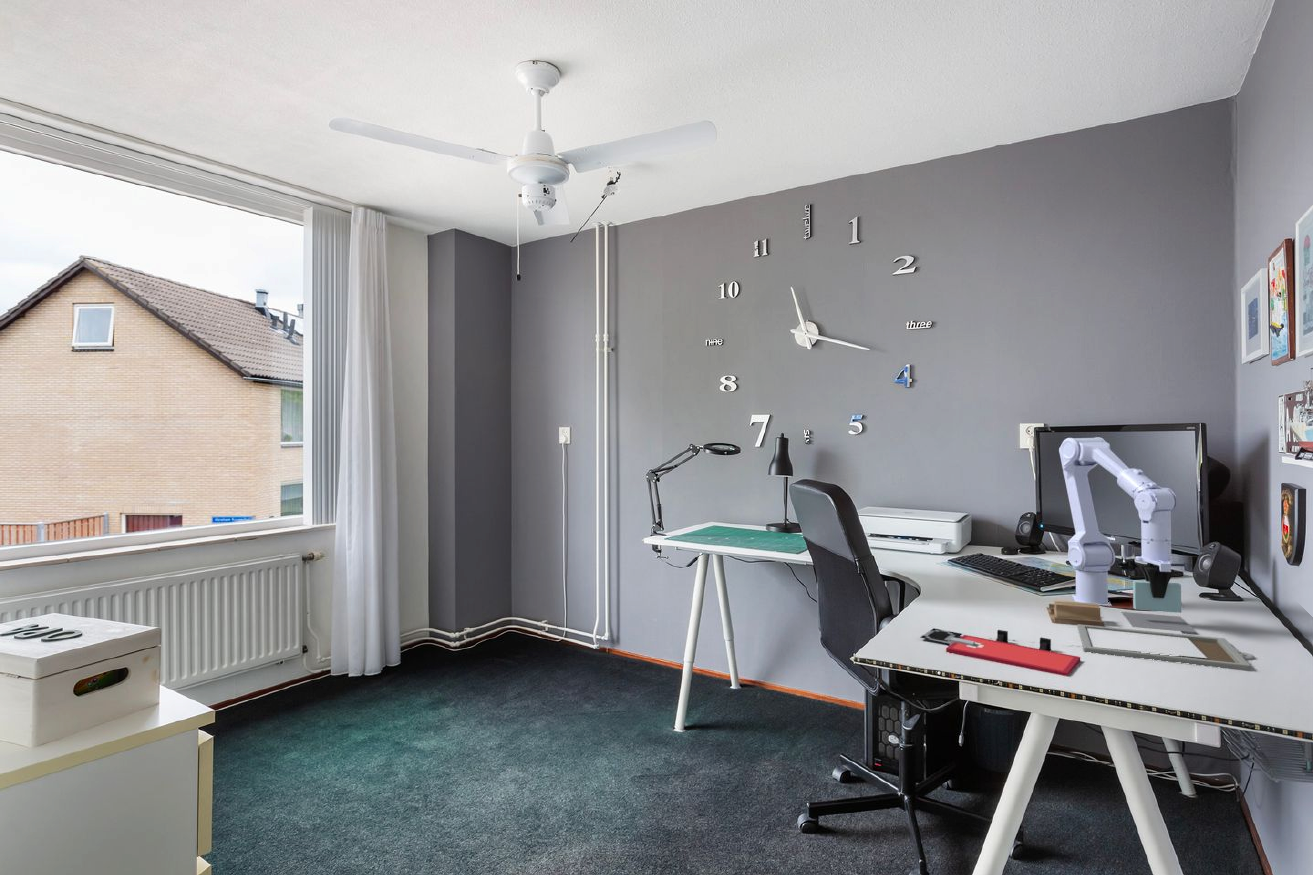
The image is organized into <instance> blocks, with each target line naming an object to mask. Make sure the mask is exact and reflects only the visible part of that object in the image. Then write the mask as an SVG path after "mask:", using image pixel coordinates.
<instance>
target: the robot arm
mask: <svg viewBox="0 0 1313 875" xmlns="http://www.w3.org/2000/svg"><path fill="white" fill-rule="evenodd" d="M1058 452H1059V457H1060V462H1061V468H1062V472H1063V477H1064V481H1065V487H1066V492H1067V497H1068V501H1069V506H1070V512H1071V518H1072V522H1073V526H1074V533H1075V534H1074V535H1073V536H1072V537H1071V538H1070V539H1069V540H1068V541H1067V545H1068V552H1067V559H1068V561H1069V564H1070V565H1071V566H1072V569H1075V594H1072V595H1071V596H1072V598H1073V599H1074V602H1082V603H1095V604H1098V605H1099V606H1106V607H1112V604H1111V601H1109V599H1108V598H1109V592H1108V591H1109V589H1108V588H1109V585H1108V584H1109V583H1108V581H1109V580H1108V579H1109V578H1108V577H1109V576H1108V575H1109V574H1108V571H1111V567H1112V566H1113V565H1114V564H1115V562H1116V552H1115V550H1114V549H1113V547H1112V545H1111V543H1110V539H1109V538H1108V537H1107V536H1106V535H1104V534H1103V533H1102V532H1100V531H1099V530H1100V529H1099V525H1098V519H1097V516H1096V511H1095V507H1094V501H1093V497H1092V492H1091V487H1090V484H1089V483H1090V482H1089V477H1088V474H1089V472H1090V471H1091V470H1093V469H1094V468H1095V467H1096V466H1097V465H1099V466H1101V467H1102V468H1103V469H1105V470H1106V471H1107V472H1109V473H1110V474H1111V475H1112V476H1114V477H1116V478H1117V479H1116V483H1117V485H1118V486H1119V487H1120V488H1121V489H1122V490H1123V491H1124V492H1125V493H1126V494H1128V495H1129V496H1130V497H1131V498H1132V499H1133V501H1134V502H1133V503H1134V507H1135V508H1136V509H1137V512H1138V517H1139V519H1140V521H1141V522H1140V523H1141V524H1140V526H1141V527H1140V532H1141V533H1140V534H1141V542H1140V543H1141V555H1140V556H1138V555H1137V556H1135V560H1136V561H1138V562H1139V561H1141V562H1145V563H1146V564H1145V563H1144V564H1139V565H1138V566H1139V568H1140V570H1141V571H1142V574H1143V576H1144V579H1145V581H1149V582H1150V587H1151V592H1152V596H1153V597H1154V598H1164V597H1165V594H1166V590H1167V586H1168V583H1170V580H1171V579H1172V577H1173V576H1174V574H1175V570H1174V569H1172V563H1173V558H1172V524H1171V523H1172V512H1173V511H1174V510H1176V508H1177V505H1178V499H1177V495H1176V494H1175V493H1174V491H1173V490H1172V488H1169V487H1161V486H1159V485H1158V484H1157V483H1156V482H1154V481H1153V480H1151V479H1150V478H1149V477H1147V475H1145V474H1144V471H1143V470H1142V469H1138V468H1129V466H1127V465H1126V464H1125V463H1124V462H1123V461H1122V459H1121V458H1120V457H1118V455H1117V454H1115V453H1114V452H1113V451H1112V450H1111V444H1110V443H1109V442H1107V441H1106V440H1105V439H1104V438H1103V437H1097V436H1095V437H1081V438H1080V437H1079V438H1077V437H1074V438H1073V437H1067V438H1065V439H1064V440H1063V441H1062V443H1061V445H1060V447H1059V449H1058ZM1108 601H1109V602H1108Z"/></svg>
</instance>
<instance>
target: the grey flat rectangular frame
mask: <svg viewBox="0 0 1313 875" xmlns="http://www.w3.org/2000/svg"><path fill="white" fill-rule="evenodd" d="M1076 629H1077V631H1078V634H1079V637H1080V641H1081V645H1082V646H1081V647H1083V648H1082V651H1083V653H1087V652H1091V653H1090V654H1096V653H1098V654H1099V655H1105V654H1107V655H1108V656H1114V655H1115V656H1114V657H1122V656H1125V657H1124V658H1131V657H1134V658H1133V659H1140V658H1144V659H1143V660H1148V659H1152V660H1151V661H1157V660H1161V661H1160V662H1166V661H1168V662H1169V663H1175V662H1181V663H1180V664H1183V663H1189V664H1188V665H1192V664H1196V665H1195V666H1201V665H1204V667H1210V666H1212V667H1211V668H1218V667H1220V669H1221V668H1222V669H1227V668H1228V670H1235V671H1236V670H1237V671H1245V672H1252V666H1251V664H1250V663H1249V662H1248V661H1253V660H1255V659H1256V658H1255V657H1256V656H1254V655H1253V654H1251V653H1247V652H1242V651H1239V649H1236V648H1235V647H1234V646H1233V645H1232V644H1231V643H1230V642H1229V641H1228V639H1226V638H1225V637H1212V636H1203V635H1195V634H1185V633H1173V632H1164V631H1163V632H1160V631H1154V630H1153V631H1151V630H1141V629H1134V628H1133V629H1131V628H1122V627H1120V628H1119V627H1112V626H1111V627H1110V626H1106V627H1102V626H1092V625H1081V624H1078V625H1076ZM1087 629H1092V630H1103V631H1113V632H1121V633H1132V634H1139V635H1151V636H1161V637H1170V638H1171V637H1173V638H1181V639H1187V640H1189V642H1191V644H1192V645H1193V646H1195V647H1196V648H1197V649H1198V650H1199V652H1200V653H1202V654H1203V655H1204V657H1200V656H1188V655H1179V656H1169V655H1170V654H1169V655H1160V654H1161V653H1159V654H1150V653H1151V652H1149V653H1141V652H1142V651H1135V650H1128V649H1127V650H1126V649H1116V648H1104V647H1098V646H1097V647H1095V646H1092V644H1091V640H1090V637H1089V635H1088V631H1087ZM1107 655H1106V656H1107ZM1153 659H1154V660H1153ZM1168 662H1167V663H1168Z"/></svg>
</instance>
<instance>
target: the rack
mask: <svg viewBox="0 0 1313 875" xmlns="http://www.w3.org/2000/svg"><path fill="white" fill-rule="evenodd" d="M1046 610H1047V613H1048V615H1049V618H1050V620H1051V622H1052V624H1056V625H1067V626H1070V625H1071V626H1077V625H1078V624H1081V625H1092V626H1102V627H1107V626H1106V624H1105V621H1104V620H1103V619H1102V618H1101V617H1100V621H1098V620H1086V619H1075V618H1063V617H1055V616H1054V603H1048V607H1047V606H1046Z"/></svg>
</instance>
